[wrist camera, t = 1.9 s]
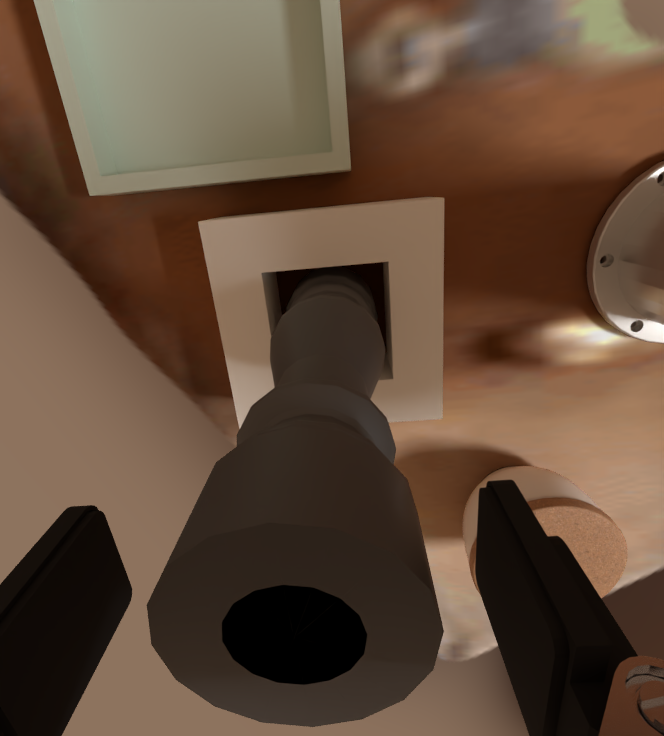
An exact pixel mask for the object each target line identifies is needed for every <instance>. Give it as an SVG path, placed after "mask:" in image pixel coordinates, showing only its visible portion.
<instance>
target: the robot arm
mask: <svg viewBox="0 0 664 736" xmlns="http://www.w3.org/2000/svg"><path fill="white" fill-rule="evenodd" d="M657 179H658V181H657ZM602 257H603V259H602V261H601V262H600V260H601V258H602ZM587 283H588V288H589V292H590V297H591V299H592V301H593V303H594V305H595V307H596V309H597V311H598V312H599V313H600V314H601V316H602V317H603V318H604V319H605V320H606V322H608V323H609V324H611V325H612V326H613V327H615V328H616V329H617V330H619V331H621V332H623V333H624V334H626V335H628V336H630V337H633V338H636V339H639V340H643V341H646V342H653V343H662V344H664V161H662V162H659V163H657V164H655V165H654V166H653V167H651V168H650V169H648V170H647V171H645V172H644V173H642V174H641V175H640V176H638V177H637V178H636V179H635V180H634V181H632V182H631V183H630V184H629V185H628V186H627V187H626V188H625V189H624V190H623V191H622V192H621V193H620V194H619V195H618V197H617V198H616V199H615V200H614V202H613V203H612V204H611V205H610V207H609V208H608V209H607V211H606V213H605V214H604V216H603V218H602V220H601V221H600V223H599V225H598V227H597V229H596V232H595V234H594V237H593V240H592V242H591V245H590V249H589V255H588V260H587ZM475 575H476V581H477V585H478V588H479V591H480V594H481V597H482V600H483V603H484V606H485V609H486V611H487V614H488V617H489V620H490V623H491V626H492V629H493V632H494V634H495V637H496V640H497V643H498V646H499V649H500V652H501V655H502V657H503V660H504V663H505V666H506V669H507V672H508V675H509V677H510V681H511V684H512V686H513V689H514V692H515V695H516V698H517V700H518V704H519V706H520V709H521V712H522V715H523V718H524V721H525V723H526V727H527V730H528V733H529V735H530V736H664V661H663V660H661V659H658V658H653V657H646V656H638V655H637V654H636V652H635V651H634V649H633V647H632V646H631V644H630V643H629V641H628V640H627V638H626V636H625V635H624V633H623V632H622V630H621V629H620V627H619V626H618V624H617V622H616V621H615V619H614V618H613V616H612V615H611V613H610V611H609V610H608V608H607V607H606V606H605V604H604V602H603V601H602V599H601V597H600V596H599V594H598V593H597V591H596V590H595V588H594V586H593V585H592V583H591V582H590V580H589V579H588V577H587V576H586V574H585V572H584V571H583V569H582V568H581V566H580V565H579V563H578V561H577V560H576V558H575V557H574V555H573V554H572V552H571V551H570V549H569V547H568V546H567V544H566V543H565V542H564V541H563V539H562V538H560V537H559V536H547V535H546V533H545V531H544V530H543V528H542V526H541V525H540V523H539V521H538V520H537V518H536V516H535V515H534V513H533V511H532V510H531V508H530V506H529V505H528V503H527V501H526V500H525V498H524V496H523V495H522V493H521V491H520V490H519V488H518V486H517V485H516V483H515V482H514V481H513V480H496V481H488V482H487V484H486V487H484V488H480V489H479V500H478V520H477V541H476V562H475ZM131 597H132V587H131V584H130V581H129V579H128V576H127V573H126V571H125V568H124V565H123V563H122V560H121V558H120V555H119V552H118V549H117V547H116V544H115V541H114V538H113V536H112V533H111V531H110V528H109V525H108V522H107V520H106V517H105V515H104V513H103V512H102V511H99V510H98V509H97V507H95V506H92V505H90V506H74V507H69V508H67V509H66V510H65V511H64V512H63V513H62V514H61V515H60V516H59V518H58V519H57V520H56V521H55V522H54V523H53V525H52V526H51V527H50V528H49V529H48V530H47V531H46V533H45V534H44V535H43V536H42V537H41V538H40V540H39V541H38V542H37V543H36V544H35V545H34V546H33V547H32V549H31V550H30V551H29V552H28V553H27V554H26V556H25V557H24V558H23V559H22V560H21V561H20V562H19V564H18V565H17V566H16V567H15V568H14V569H13V571H12V572H11V573H10V574H9V575H8V576H7V577H6V579H5V580H4V581H3V582H2V583H1V585H0V736H61V735H62V734H63V732H64V730H65V728H66V726H67V724H68V722H69V720H70V718H71V716H72V714H73V712H74V710H75V708H76V707H77V705H78V703H79V701H80V699H81V697H82V695H83V693H84V691H85V689H86V687H87V685H88V683H89V681H90V679H91V677H92V676H93V673H94V672H95V670H96V668H97V666H98V664H99V662H100V660H101V658H102V656H103V654H104V652H105V650H106V648H107V646H108V644H109V642H110V640H111V639H112V637H113V635H114V633H115V631H116V629H117V627H118V625H119V623H120V621H121V619H122V617H123V615H124V613H125V611H126V609H127V608H128V605H129V604H130V601H131Z"/></svg>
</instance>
